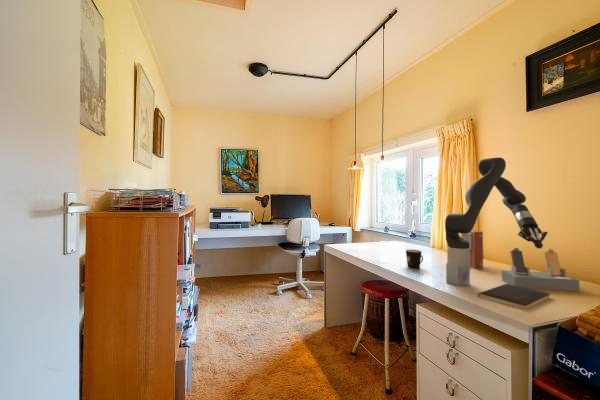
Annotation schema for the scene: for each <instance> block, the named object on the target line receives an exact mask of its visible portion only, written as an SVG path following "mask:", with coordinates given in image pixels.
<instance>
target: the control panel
mask: <svg viewBox="0 0 600 400" xmlns="http://www.w3.org/2000/svg"><path fill="white" fill-rule="evenodd" d="M460 234H461V235H460V237H461V238H462V239H464V240H466V241H468V242H469V244H470V268H471V269H483V268H484V240H483V239H484V236H483V235H484V232H483V231H481V230H475V229H472V231H471V232H470V233H466V234H464V233H460Z"/></svg>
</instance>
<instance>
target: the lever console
mask: <svg viewBox="0 0 600 400" xmlns="http://www.w3.org/2000/svg"><path fill="white" fill-rule="evenodd" d="M510 267H511V268H510V269H511V270H510V269H509V270H506V269H505V270H504V269H502V270H501V281H503V283H505V284H509V285H514V286H518V287H523V288H527V289H532V290H544V291H545V290H546V291H563V292H580V279H578V278H575V277H573V276H569V275H567V269H566V268H562V267H560V268H561V272H562V274H561V275H556V274H552V269H550V268H548V266H547V267H545V270H546V271H530V267H528V266H525V270H526V273H517V268H516V267H514V266H513V265H511V266H510Z"/></svg>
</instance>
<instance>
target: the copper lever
mask: <svg viewBox="0 0 600 400" xmlns="http://www.w3.org/2000/svg"><path fill="white" fill-rule="evenodd" d="M544 256H545V261H546V265H547V268H550V269H552V274H556V275H561V274H562V272H561V268H562V267H561V263H560V260H559V257H558V252H557V251H556V252H555V251H554V249H552V248H548V249H547V250H546V251H545V252H544Z"/></svg>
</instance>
